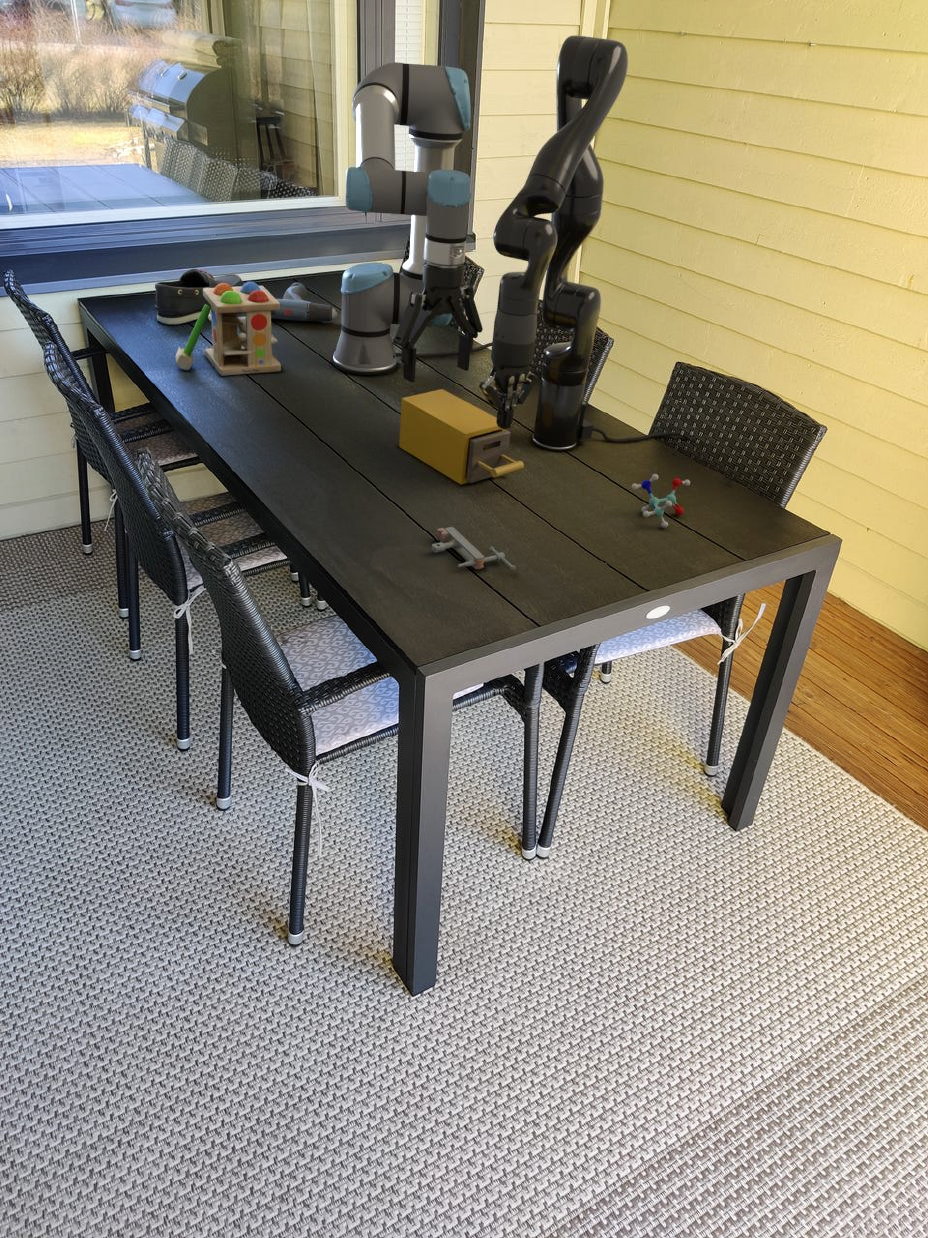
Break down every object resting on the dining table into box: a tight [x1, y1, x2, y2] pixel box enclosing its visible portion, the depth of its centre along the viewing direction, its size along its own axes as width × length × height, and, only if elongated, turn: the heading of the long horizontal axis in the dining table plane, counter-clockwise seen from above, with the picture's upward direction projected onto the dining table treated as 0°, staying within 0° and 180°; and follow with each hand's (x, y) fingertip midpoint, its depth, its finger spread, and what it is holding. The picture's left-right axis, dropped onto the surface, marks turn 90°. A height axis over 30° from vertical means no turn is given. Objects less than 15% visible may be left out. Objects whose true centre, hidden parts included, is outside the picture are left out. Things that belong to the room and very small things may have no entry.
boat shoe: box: [154, 268, 245, 325], centre depth 260 cm, size 13×33×10 cm, turn 147°
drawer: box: [466, 429, 525, 484], centre depth 192 cm, size 24×9×8 cm, turn 40°
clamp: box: [431, 526, 517, 572], centre depth 165 cm, size 15×2×10 cm
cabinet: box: [398, 388, 507, 485], centre depth 195 cm, size 20×10×10 cm, turn 40°
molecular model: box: [631, 473, 691, 529], centre depth 183 cm, size 12×10×10 cm
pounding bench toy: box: [174, 281, 282, 377], centre depth 225 cm, size 23×14×18 cm, turn 116°
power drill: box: [271, 282, 338, 322], centre depth 265 cm, size 5×19×20 cm
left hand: (436, 374), depth 192 cm, fingers open, 13 cm apart
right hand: (503, 427), depth 182 cm, fingers closed
